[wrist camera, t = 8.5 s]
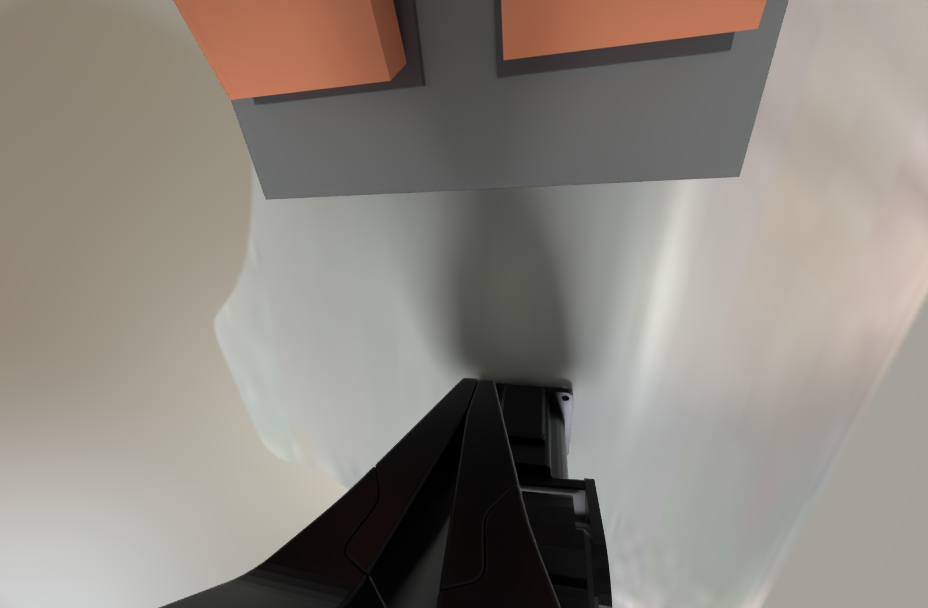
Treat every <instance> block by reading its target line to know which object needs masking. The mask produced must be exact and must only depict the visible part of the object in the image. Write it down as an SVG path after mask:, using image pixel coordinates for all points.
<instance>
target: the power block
mask: <svg viewBox="0 0 928 608" xmlns="http://www.w3.org/2000/svg"><path fill="white" fill-rule="evenodd" d="M393 2H394V7H395V12H396V16H397V21H398V25H399V30H400V34H401V39H402V43H403V48H404V52H405V57H406V65H405V66H404V67H403V68H402V69H401V70H400V71H399V72H398V73H397V74H396V75H395V77H394V78H393V79H392V80H391V81H384V82H376V83H368V84H359V85H351V86H343V87H334V88H326V89H318V90H309V91H301V92H293V93H284V94H276V95H268V96H259V97H251V98H243V99H234V100H231V102H232V104H233V107H234V110H235V113H236V116H237V119H238V121H239V124H240V127H241V130H242V133H243V135H244V139H245V141H246V144H247V147H248V150H249V153H250V156H251V158H252V161H253V164H254V167H255V170H256V173H257V176H258V178H259V181H260V184H261V187H262V190H263V193H264V195H265V198H266V199H286V198H307V197H328V196H349V195H370V194H391V193H412V192H432V191H453V190H474V189H495V188H516V187H537V186H557V185H578V184H599V183H620V182H641V181H662V180H683V179H703V178H724V177H739V176H740V172H741V168H742V165H743V161H744V158H745V154H746V151H747V147H748V143H749V140H750V136H751V133H752V129H753V126H754V122H755V118H756V115H757V111H758V108H759V104H760V100H761V97H762V93H763V90H764V86H765V83H766V79H767V75H768V72H769V68H770V65H771V61H772V58H773V54H774V50H775V47H776V43H777V40H778V36H779V32H780V29H781V25H782V22H783V18H784V15H785V11H786V7H787V4H788V0H767V1H766V5H765V8H764V11H763V14H762V17H761V20H760V23H759V26H758V29H752V30H743V31H735V32H727V33H719V34H711V35H703V36H695V37H687V38H679V39H671V40H663V41H655V42H647V43H639V44H631V45H623V46H615V47H607V48H599V49H591V50H583V51H575V52H566V53H558V54H550V55H542V56H534V57H526V58H518V59H510V60H504V59H503V33H502V8H501V0H393Z"/></svg>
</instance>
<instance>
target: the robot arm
mask: <svg viewBox="0 0 928 608" xmlns="http://www.w3.org/2000/svg"><path fill="white" fill-rule="evenodd" d="M565 395H566V396H567V397H563V396H565ZM572 407H573V393H572V391H571V390H569V389H564V388H550V387H535V386H521V385H506V384H495V382H494V380H491V379H480V380H478V379H474V378H464V379H462V380H461V381H460V382H459V383H458V384H457V385H456V386H455V387H454V388H453V389H452V390H451V391H450V392H449V393H448V394H447V395H446V396H445V397H444V398H443V399H442V400H441V401H440V402H439V403H438V404H437V405H436V406H435V407H434V408H433V409H432V410H431V411H430V412H429V413H428V414H427V415H426V416H425V417H423V418H422V419H421V420H420V421H419V422H418V423H417V424H416V425H415V426H414V427H413V428H412V429H411V430H410V431H409V432H408V433H407V434H406V435H405V436H404V437H403V438H402V439H401V440H400V441H399V442H398V443H397V444H396V445H395V446H394V447H393V448H392V449H391V450H390V451H389V452H388V453H387V454H386V455H385V456H384V457H383V458H382V459H381V460H380V461H379V462H378V463H377V464H376V468H375V467H373V468H372V469H371V470H370V471H369V472H368V473H367V474H366V475H365V476H364V477H363V478H362V479H361V480H359V481H358V482H357V483H356V484H355V485H354V486H353V487H352V488H351V489H350V490H349V491H348V492H347V493H346V494H345V495H344V496H342V497H341V498H340V499H339V500H338V501H337V502H335V503H334V504H333V505H332V506H331V507H330V508H329V509H327V510H326V511H325V512H324V513H323V514H321V516H319V517H318V518H317V519H316V520H314V521H313V522H312V523H311V524H309V525H308V526H307V527H306V528H305V529H303V530H302V531H301V532H300V533H298V534H297V535H296V536H295V537H294V538H292V539H291V540H290V541H289V542H288V543H286V544H285V545H284V546H283V547H282V548H280V549H279V550H278V551H277V552H276V553H274V554H273V555H272V556H271V557H269V558H268V559H267V560H265V561H264V562H263V563H261V564H260V565H258V566H257V567H255V568H254V569H252V570H250V571H249V572H247V573H245V574H244V575H242V576H240V577H238V578H236V579H233V580H231V581H229V582H226V583H224V584H221V585H218V586H215V587H213V588H210V589H207V590H205V591H202V592H199V593H197V594H194V595H191V596H189V597H186V598H184V599H181V600H178V601H175V602H173V603H170V604H167V605H165V606H162V607H159V608H612V595H611V582H610V572H609V563H608V555H607V548H606V541H605V535H604V530H603V524H602V519H601V514H600V508H599V503H598V497H597V492H596V487H595V481H594V479H585V478H584V480H575V479H568V468H567V455H568V453H569V441H570V430H571V418H572Z"/></svg>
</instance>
